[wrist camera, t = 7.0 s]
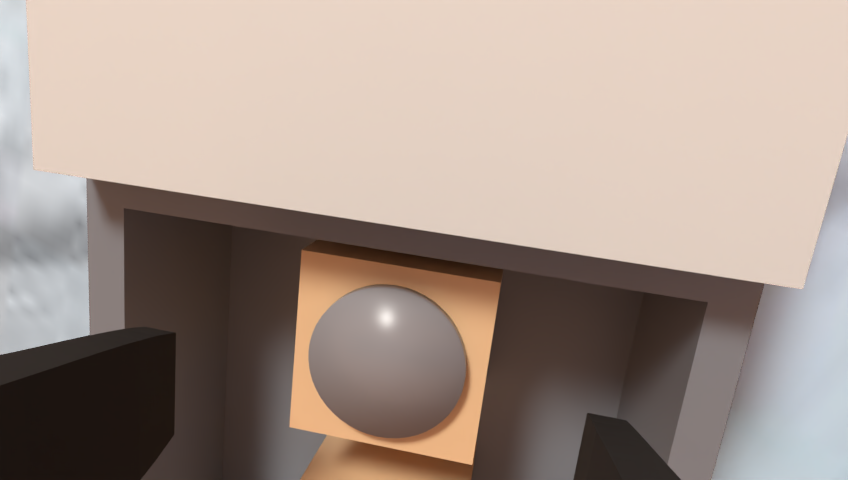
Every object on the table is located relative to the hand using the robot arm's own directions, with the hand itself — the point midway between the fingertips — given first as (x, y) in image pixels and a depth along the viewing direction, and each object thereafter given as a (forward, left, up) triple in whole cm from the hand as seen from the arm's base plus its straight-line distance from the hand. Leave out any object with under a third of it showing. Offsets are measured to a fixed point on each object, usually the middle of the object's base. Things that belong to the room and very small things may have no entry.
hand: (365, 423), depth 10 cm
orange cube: (0, 0, -6) cm, 6 cm away
